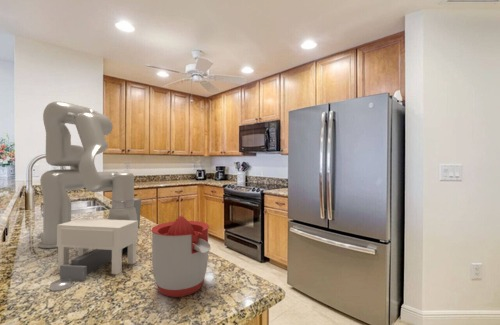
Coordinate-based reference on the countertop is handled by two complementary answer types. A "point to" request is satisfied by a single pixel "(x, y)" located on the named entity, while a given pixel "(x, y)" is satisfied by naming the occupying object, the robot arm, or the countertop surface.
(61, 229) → the white footstool
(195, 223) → the citrus juicer
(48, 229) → the robot arm
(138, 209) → the skincare box
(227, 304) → the countertop surface
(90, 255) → the dark grey bar
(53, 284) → the disc
